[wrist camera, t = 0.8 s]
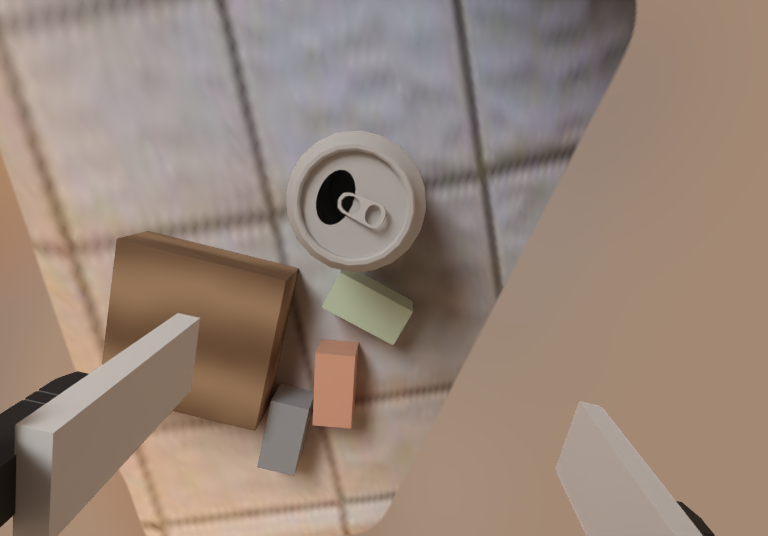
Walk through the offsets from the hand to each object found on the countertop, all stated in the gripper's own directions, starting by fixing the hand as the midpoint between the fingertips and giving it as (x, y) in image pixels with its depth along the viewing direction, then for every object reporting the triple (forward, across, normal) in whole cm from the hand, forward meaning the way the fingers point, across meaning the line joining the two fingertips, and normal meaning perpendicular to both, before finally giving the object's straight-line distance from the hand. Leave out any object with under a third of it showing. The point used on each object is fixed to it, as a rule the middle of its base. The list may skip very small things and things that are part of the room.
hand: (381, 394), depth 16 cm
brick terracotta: (+20, -2, -10) cm, 23 cm away
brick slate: (+20, -6, -15) cm, 26 cm away
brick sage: (+21, -1, -3) cm, 21 cm away
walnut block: (+20, -13, -8) cm, 26 cm away
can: (+21, -3, +5) cm, 22 cm away
